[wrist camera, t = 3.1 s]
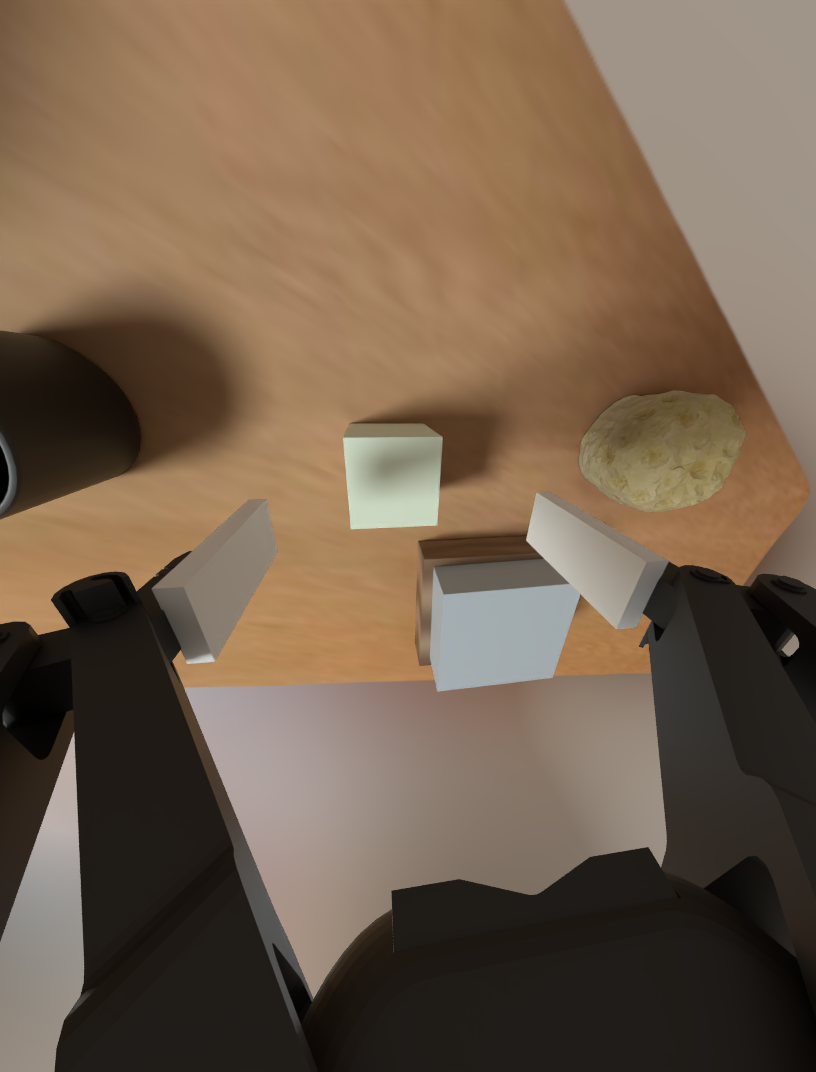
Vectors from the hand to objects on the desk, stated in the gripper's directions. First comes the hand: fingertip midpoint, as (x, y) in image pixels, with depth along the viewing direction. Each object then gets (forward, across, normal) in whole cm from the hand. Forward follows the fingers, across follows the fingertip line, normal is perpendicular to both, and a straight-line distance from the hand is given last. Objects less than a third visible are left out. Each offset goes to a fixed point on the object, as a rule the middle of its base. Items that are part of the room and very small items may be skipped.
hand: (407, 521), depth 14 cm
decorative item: (+13, +22, +1) cm, 25 cm away
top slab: (+9, +10, -14) cm, 20 cm away
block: (+12, 0, 0) cm, 12 cm away
